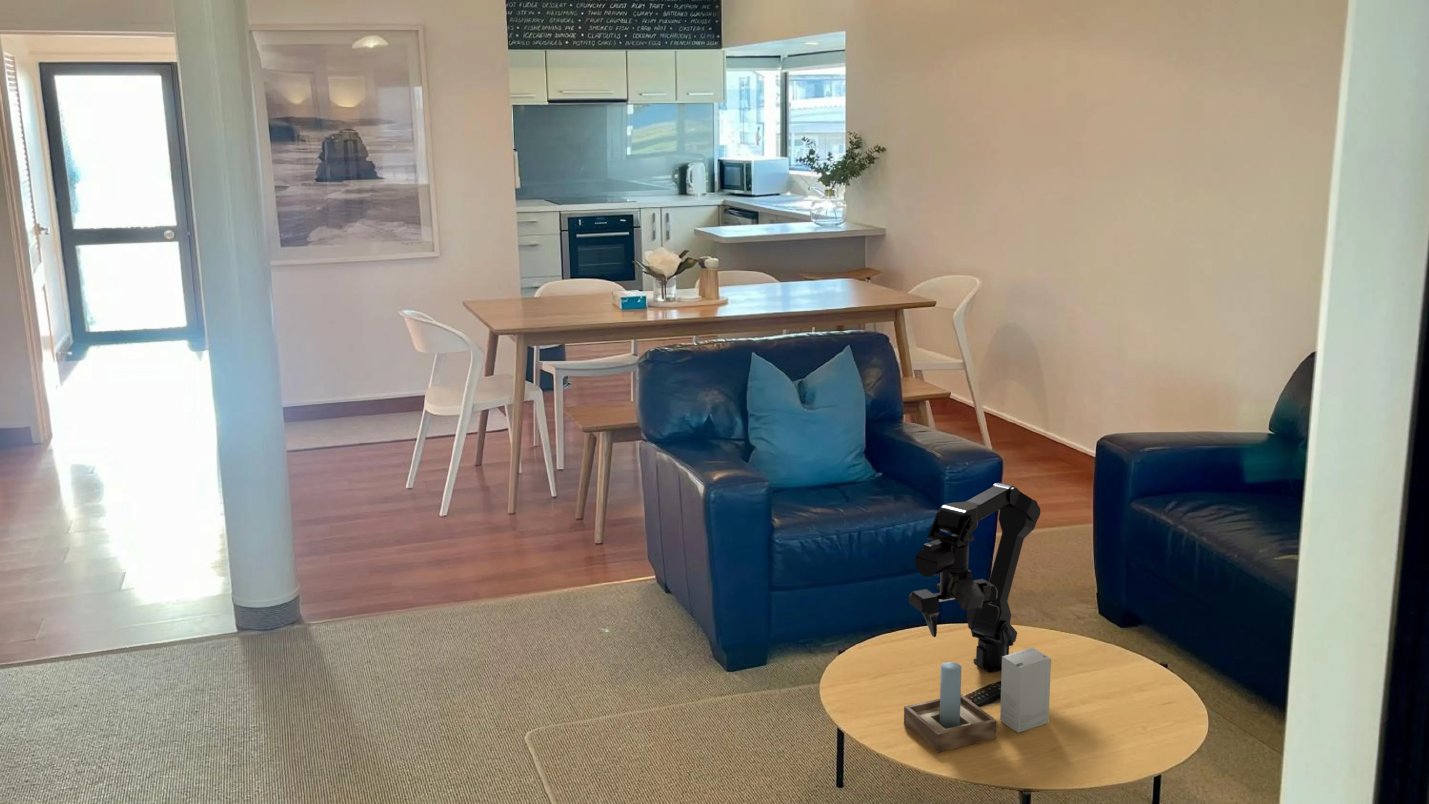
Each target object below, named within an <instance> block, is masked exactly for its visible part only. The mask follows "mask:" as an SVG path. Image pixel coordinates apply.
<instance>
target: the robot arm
mask: <svg viewBox="0 0 1429 804" xmlns="http://www.w3.org/2000/svg"><path fill="white" fill-rule="evenodd" d="M997 511H999V513H998V523H999V526H1000V530H1001V535H1000V540H999V541H998V547H997V551H996V555H995V558H994V562H993V564H992V569H991V573H990V575H989V576H990V577H989V580H988V581H987V580H986V579H984V578H981V579H980V578H979V579H973V573H972V570H970V569H969V550H970V549H969V548H970V542H973V541H974V540H975V537H974V536H973V534H972V533H973V532H975V531H976V530H977V529H978V525H979V522H980V521H981V520H983V519H985V518H986V517H989V516H990V515H992V514H993V513H995V512H997ZM1040 516H1041V507H1040V506H1039V504H1038V502H1037V500H1035V499H1033V498H1031V497H1029V496H1028V495H1026V494H1025V493H1023V492H1021V491H1020V489H1018V487H1016V486H1015V485H1011V484H1006V483H1003V482H995V483H994V484H993V485H992V486H991V487H990V488H988V489H986V490H985V491H983V492H981V493H979V494H977V495H975V496H973V497H972V498H970V499H968V500H966V501H959V502H956V501H955V502H950V503H946V504H942V506H940V508H939V509H938V511H937V512H936V515H935V517H934V520H933V522H932V524H931V527H930V529H929V532H928V534H927V536H926V538H927V540H930V542H926V543H924V544H923V545H922V549H921V550H919V551H917V553H916V554H915V555H916V556H915V557H914V566H915V568H916V570H917V571H918V573H919V574H920V575H921V576H922V577H926V578H931V577H934V576H936V575H939V574H940V575H939V578H940V579H939V580H940V581H939V583H937V584H936V589H937V590H938V591H939V592H936V593H932V592H931V591H930V590H929V589H927V588H926V589H925V588H924V589H919V590H915V591H912V592H911V593H910V594H909V596H908V602H909V603H908V604H909V605H911V606H912V607H914V609H916V610H918V611H920V612H921V614H922V616H923V618H924V620H925V622H926V625H927V627H928V629H929V632H930V634H931V636H932V638H933V637H934V638H936V637H937V633H938V616H939V614H940V613H941V611H940V610H939V608H940V603H942V602H948V601H953V600H955V601H956V602H957V604H958V605H959V606H960V608H961V609H962V610H964V611H966V617H967V618H966V620H967V626H968V629H969V630H970V632H971V636H972V638H977V640H978V641H977V646H976V647H975V648H976V653H975V655H976V656H975V658H973V663H975V664H976V665H978V666H979V667H980V668H982V669H983V670H985V671H987V672H988V673H995V672H998V671H1002V656H1005V655H1009V654H1010V647H1012V646H1014V643H1015V642H1016V640H1017V636H1018V631H1017V630H1016V629H1015V628H1014V627H1013V626H1012V624H1011V618H1012V613H1011V609H1010V606H1009V603H1008V600H1009V595H1010V592H1011V589H1012V585H1013V582H1014V577H1015V574H1016V570H1017V566H1018V562H1019V559H1020V555H1021V551H1022V548H1023V543H1024V540H1025V538H1026V537H1027V536H1029V535H1030V534H1031V532H1033V531H1034V530H1035V527H1036V525H1037V522H1038V520H1039V518H1040ZM940 531H941V532H940ZM943 532H944V533H943ZM946 533H947V534H946ZM931 540H932V541H931Z"/></svg>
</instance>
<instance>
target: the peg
mask: <svg viewBox="0 0 1429 804" xmlns="http://www.w3.org/2000/svg"><path fill="white" fill-rule="evenodd" d="M939 686H940V688H939V689H940V691H939V699H940V723H939V724H940V725H941V726H942V727H944V728H945V729H947V728H952V727H956V726H960V699H961V694H962V692H961V690H962V688H961V687H962V665H961V664H959V663H957V662H955V661H954V662H952V661H947V662H943V663H941V664H940V684H939Z"/></svg>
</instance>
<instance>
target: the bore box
mask: <svg viewBox="0 0 1429 804" xmlns="http://www.w3.org/2000/svg"><path fill="white" fill-rule="evenodd" d="M939 723H940V698H935V699H930V700H927V701H922V702H917V703H914V704H910V705H909V704H908V705H906V706H905V705H904V706H903V724H904V725H905V726H906V727H907V728H908V729H909V730H910V731H912V732H913V733H914V734H915V735H917V736H918V737H919V738H920V739H921V740H922V741H923V742H925V744H927V745H928V746H929V747H931V748H932V749H933V750H934V751H935V752H937V753H941V752H944V751H949V750H954V749H957V748H961V747H966V746H970V745H974V744H978V743H981V742H985V741H990V740H995V739H997V727H998V721H997V719H995V718H994V717H993V716H991V715H990V714H988V713H987V712H986V711H985V710H983V709H982V708H981V707H979V706H978V705H977V704H976V703H974V702H972V701H971V700H970V699H969V698H968V697H967V696H965V695H963V694H962V693H961V699H960V726H956V727H952V728H947V729H945V728H944V727H942V726H941V725H940V724H939Z"/></svg>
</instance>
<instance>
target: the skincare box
mask: <svg viewBox="0 0 1429 804" xmlns="http://www.w3.org/2000/svg"><path fill="white" fill-rule="evenodd" d="M1051 670H1052V658H1051V657H1050V656H1048V655H1046V654H1045V653H1042V652H1041V651H1039V650H1038V649H1036V648H1035V647H1028V648H1026V649H1022V650H1020V651H1016V652H1012V653H1009V655H1005V656H1002V670H1001V678H1000V680H1001V683H1000V712H999V713H1000V716H999V720H1000V721H1001V722H1002V723H1003V724H1004V725H1006V726H1008V727H1009V728H1010V729H1012V730H1013V731H1014V732H1016V733H1021V732H1025V731H1027V730H1031V729H1034V728H1037V727H1041V726H1044V725H1046V724H1049V719H1050V718H1049V717H1050V693H1051V692H1050V690H1051Z"/></svg>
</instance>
